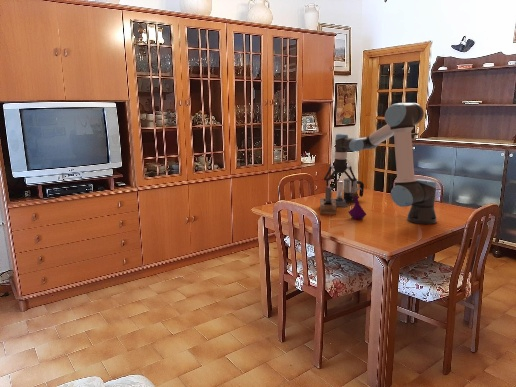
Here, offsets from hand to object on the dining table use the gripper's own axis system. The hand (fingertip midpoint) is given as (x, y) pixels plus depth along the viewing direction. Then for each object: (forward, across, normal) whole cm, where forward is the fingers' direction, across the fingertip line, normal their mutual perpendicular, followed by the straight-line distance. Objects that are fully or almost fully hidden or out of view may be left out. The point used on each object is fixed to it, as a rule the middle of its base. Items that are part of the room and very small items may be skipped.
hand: (339, 191), depth 259 cm
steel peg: (+7, 0, 0) cm, 7 cm away
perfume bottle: (+9, -8, +31) cm, 34 cm away
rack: (+9, +8, +15) cm, 19 cm away
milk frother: (+9, -8, -15) cm, 19 cm away
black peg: (+7, +8, +20) cm, 22 cm away
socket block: (+9, 0, 0) cm, 9 cm away
